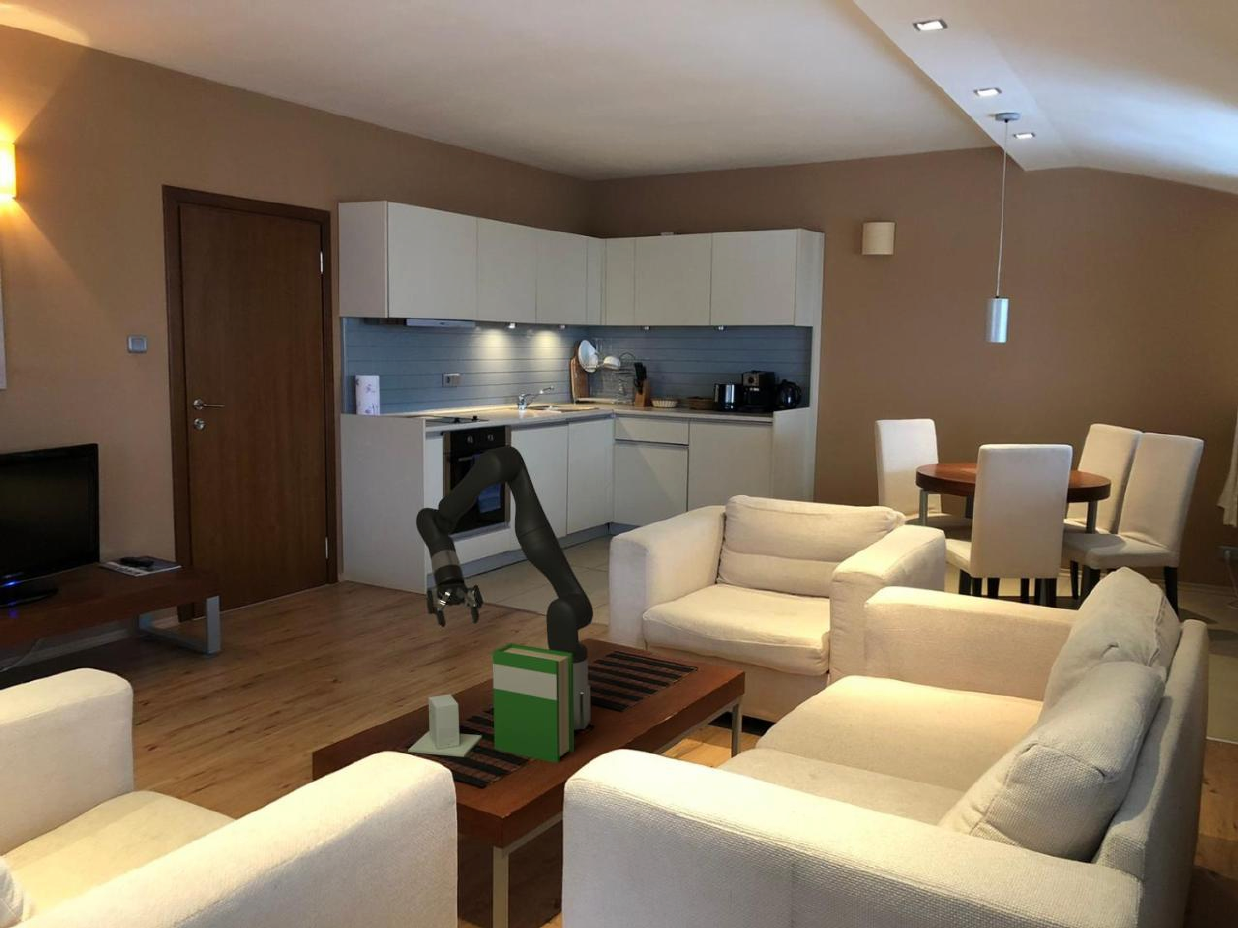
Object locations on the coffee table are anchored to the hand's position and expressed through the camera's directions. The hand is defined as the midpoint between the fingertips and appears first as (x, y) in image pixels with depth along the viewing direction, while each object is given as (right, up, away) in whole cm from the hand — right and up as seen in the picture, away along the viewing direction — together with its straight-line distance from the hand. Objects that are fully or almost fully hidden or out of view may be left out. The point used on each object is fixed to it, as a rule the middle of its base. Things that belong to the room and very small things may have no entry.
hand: (460, 623), depth 260 cm
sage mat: (-1, -27, -17) cm, 32 cm away
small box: (-1, -26, -17) cm, 31 cm away
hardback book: (+21, -27, -21) cm, 40 cm away
